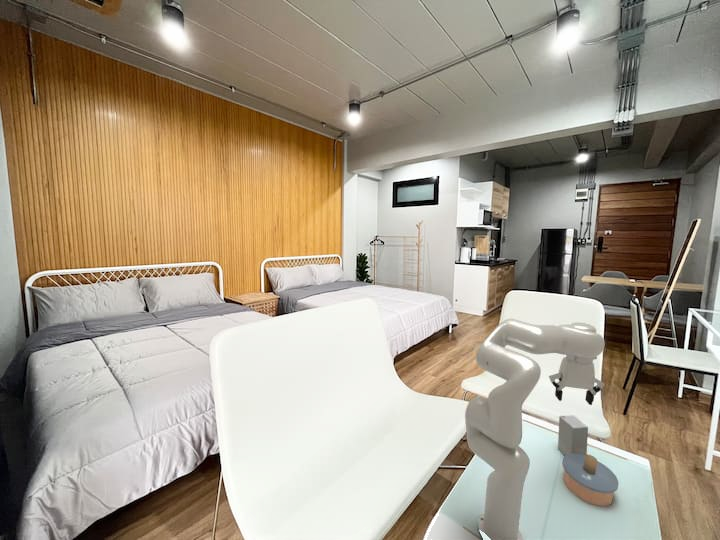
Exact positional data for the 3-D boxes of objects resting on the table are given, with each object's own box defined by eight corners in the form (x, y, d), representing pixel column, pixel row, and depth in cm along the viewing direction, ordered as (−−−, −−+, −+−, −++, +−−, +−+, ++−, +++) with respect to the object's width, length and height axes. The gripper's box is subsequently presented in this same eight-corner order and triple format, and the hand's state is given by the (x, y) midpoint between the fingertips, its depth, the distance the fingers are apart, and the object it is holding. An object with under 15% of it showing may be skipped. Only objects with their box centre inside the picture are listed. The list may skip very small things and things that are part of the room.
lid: (629, 498, 96) (632, 481, 95) (574, 487, 99) (576, 471, 99) (601, 460, 111) (604, 446, 110) (555, 452, 115) (556, 438, 114)
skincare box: (586, 463, 117) (591, 428, 115) (569, 463, 117) (573, 428, 115) (571, 447, 126) (575, 414, 123) (554, 447, 125) (559, 414, 123)
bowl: (621, 510, 98) (624, 494, 97) (574, 500, 101) (576, 485, 100) (598, 476, 111) (600, 462, 110) (557, 468, 115) (559, 455, 114)
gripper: (601, 355, 106) (595, 398, 108) (548, 350, 110) (543, 391, 112) (613, 364, 99) (606, 410, 101) (556, 358, 103) (551, 403, 105)
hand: (573, 400), depth 107 cm, fingers open, 9 cm apart
